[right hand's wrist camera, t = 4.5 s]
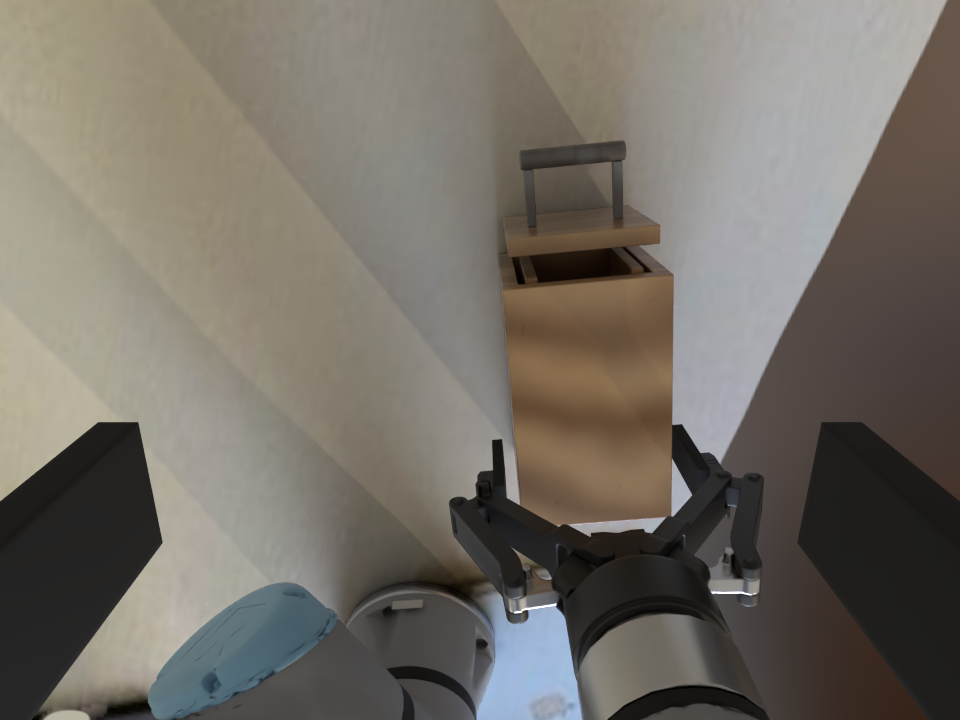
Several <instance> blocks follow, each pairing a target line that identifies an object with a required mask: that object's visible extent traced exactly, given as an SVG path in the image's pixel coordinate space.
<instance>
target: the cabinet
mask: <svg viewBox="0 0 960 720" xmlns="http://www.w3.org/2000/svg"><path fill="white" fill-rule="evenodd" d="M621 248H622V249H623V250H624V251H625V252H627V253H628V254H629V255H630V256H631V257H632V258H633V259H634V260H635V261H636V262H637V263H638V264H639V265H640V266H641V267H642V268H643V269H644V273H641V274H630V275H619V276H608V277H597V278H586V279H575V280H565V281H554V282H543V283H532V284H521V285H520V273H519V260H518V257H509V255H508V253H504V254H498V263H499V275H500V287H501V299H502V310H503V322H504V334H505V345H506V357H507V369H508V381H509V392H510V404H511V416H512V427H513V439H514V451H515V461H516V471H517V480H518V490H519V500H520V506H522V507H524V508H525V509H527V510H529V511H531V512H533V513H534V514H536V515H538V516H540V517H542V518H543V519H545V520H547V521H549V522H551V523H552V524H554V525H556V526H561V525H562V524H567V525H577V524H590V523H602V522H615V521H628V520H640V519H653V518H665V517H667V516H671V486H672V382H673V278H674V275H673V274H672V273H671V272H670V271H669V270H667V269H666V268H665V267H664V266H663V265H661V264H660V263H659V262H658V261H656V260H655V259H654V258H653V257H652V256H650V255H649V254H648V253H647V252H646V251H644V250H643V249H642V248H641V247H640V246H628V247H621Z"/></svg>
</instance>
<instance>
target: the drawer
mask: <svg viewBox="0 0 960 720" xmlns="http://www.w3.org/2000/svg"><path fill="white" fill-rule="evenodd" d="M519 156H520V168H521V170H524V182H525V197H526V212H527V215H521V216H510V217H503V229H504V236H505V241H506V246H507V251H508V255H509V257H518V260H519V273H520V285H521V284H532V283H543V282H554V281H565V280H575V279H586V278H597V277H608V276H619V275H630V274H641V273H644V269H643V268H642V267H641V266H640V265H639V264H638V263H637V262H636V261H635V260H634V259H633V258H632V257H631V256H630V255H629V254H628V253H627V252H625V251H624V250H623V249H622V248H621V247H628V246H638V245H649V244H659V243H660V225H659V224H657V223H656V222H654V221H653V220H651V219H649V218H648V217H646V216H644V215H643V214H641V213H640V212H638V211H636V210H635V209H633V208H631V207H630V206H628V205H625V206H623V175H622V160H625V157H626V145H625V142H624V141H613V142H603V143H592V144H582V145H572V146H562V147H552V148H542V149H532V150H521V151H520V152H519ZM602 162H612V193H613V207H605V208H594V209H584V210H573V211H563V212H552V213H542V214H536V207H535V192H534V176H533V170H532V169H541V168H551V167H561V166H571V165H581V164H592V163H602Z"/></svg>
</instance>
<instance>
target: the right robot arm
mask: <svg viewBox="0 0 960 720" xmlns="http://www.w3.org/2000/svg"><path fill="white" fill-rule="evenodd" d="M162 543H163V542H162V537H161V532H160V527H159V522H158V518H157V513H156V508H155V503H154V498H153V493H152V488H151V483H150V478H149V473H148V468H147V463H146V458H145V453H144V448H143V443H142V439H141V434H140V429H139V424H138V422H98V423H97V424H96V425H94V426H93V427H92V428H91V429H89V430H88V431H87V432H86V433H84V434H83V435H82V436H81V437H80V438H78V439H77V440H76V441H75V442H73V443H72V444H71V445H70V446H68V447H67V448H66V449H65V450H63V451H62V452H61V453H60V454H58V455H57V456H56V457H55V458H53V459H52V460H51V461H50V462H49V463H47V464H46V465H45V466H44V467H42V468H41V469H40V470H39V471H37V472H36V473H35V474H34V475H32V476H31V477H30V478H29V479H27V480H26V481H25V482H24V483H22V484H21V485H20V486H19V487H18V488H16V489H15V490H14V491H13V492H11V493H10V494H9V495H8V496H6V497H5V498H4V499H3V500H1V501H0V720H32V718H33V717H34V716H35V714H36V713H37V712H38V710H39V709H40V708H41V706H42V705H43V703H44V702H45V701H46V699H47V698H48V697H49V695H50V694H51V693H52V691H53V690H54V689H55V687H56V686H57V685H58V683H59V682H60V681H61V679H62V678H63V676H64V675H65V674H66V672H67V671H68V670H69V668H70V667H71V666H72V664H73V663H74V662H75V660H76V659H77V658H78V656H79V655H80V654H81V652H82V651H83V649H84V648H85V647H86V645H87V644H88V643H89V641H90V640H91V639H92V637H93V636H94V635H95V633H96V632H97V631H98V629H99V628H100V627H101V625H102V624H103V622H104V621H105V620H106V618H107V617H108V616H109V614H110V613H111V612H112V610H113V609H114V608H115V606H116V605H117V604H118V602H119V601H120V600H121V598H122V597H123V596H124V594H125V593H126V591H127V590H128V589H129V587H130V586H131V585H132V583H133V582H134V581H135V579H136V578H137V577H138V575H139V574H140V573H141V571H142V570H143V569H144V567H145V566H146V564H147V563H148V562H149V560H150V559H151V558H152V556H153V555H154V554H155V552H156V551H157V550H158V548H159V547H160V546H161V544H162ZM797 543H798V544H799V546H800V547H801V548H802V550H803V551H804V552H805V554H806V555H807V556H808V558H809V559H810V560H811V562H812V563H813V564H814V566H815V567H816V569H817V570H818V571H819V573H820V574H821V575H822V577H823V578H824V579H825V581H826V582H827V583H828V585H829V586H830V587H831V589H832V590H833V591H834V593H835V594H836V596H837V597H838V598H839V599H840V601H841V602H842V604H843V605H844V606H845V608H846V609H847V610H848V612H849V613H850V614H851V616H852V617H853V618H854V620H855V621H856V622H857V624H858V625H859V627H860V628H861V629H862V631H863V632H864V633H865V635H866V636H867V637H868V639H869V640H870V641H871V643H872V644H873V645H874V647H875V648H876V649H877V651H878V652H879V654H880V655H881V656H882V658H883V659H884V660H885V662H886V663H887V664H888V666H889V667H890V668H891V670H892V671H893V672H894V674H895V675H896V676H897V678H898V679H899V680H900V682H901V683H902V685H903V686H904V687H905V689H906V690H907V691H908V693H909V694H910V695H911V697H912V698H913V699H914V701H915V702H916V703H917V705H918V706H919V707H920V709H921V710H922V712H923V713H924V714H925V716H926V717H927V718H928V720H960V501H959V500H957V499H956V498H955V497H954V496H952V495H951V494H950V493H949V492H947V491H946V490H945V489H944V488H942V487H941V486H940V485H939V484H938V483H936V482H935V481H934V480H932V479H931V478H930V477H929V476H928V475H926V474H925V473H924V472H923V471H921V470H920V469H919V468H918V467H916V466H915V465H914V464H913V463H911V462H910V461H909V460H908V459H907V458H905V457H904V456H903V455H902V454H900V453H899V452H898V451H897V450H895V449H894V448H893V447H892V446H890V445H889V444H888V443H887V442H885V441H884V440H883V439H882V438H880V437H879V436H878V435H877V434H876V433H874V432H873V431H872V430H871V429H869V428H868V427H867V426H866V425H864V424H863V423H862V422H822V424H821V429H820V434H819V439H818V443H817V449H816V453H815V458H814V463H813V468H812V473H811V478H810V483H809V488H808V493H807V498H806V503H805V508H804V513H803V518H802V522H801V528H800V532H799V537H798V542H797Z"/></svg>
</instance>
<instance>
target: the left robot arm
mask: <svg viewBox="0 0 960 720" xmlns="http://www.w3.org/2000/svg"><path fill="white" fill-rule="evenodd" d="M492 450H493V471H482V472H480V473H479V474H478V481H477V483H476V484H475V485H476V494H477V496H476V497H475V498H473V499H471V500H467V499H466V498H464V497H455V498H453V499H451V500H450V501H449V506H450V514H451V522H452V530H453V535H454V537H455V538H456V539H457V540H458V542H459V543H460V544H461V545H462V547H463V548H464V549H465V551H466V552H467V553H468V554H469V556H470V557H471V558H472V559H473V561H474V562H475V563H476V564H477V566H478V567H479V568H480V569H481V571H482V572H483V573H484V574H485V576H486V577H487V578H488V579H489V581H490V582H491V583H492V584H493V586H494V587H495V588H496V589H497V591H498V592H499V593H500V594H501V596H502V597H503V601H504V606H505V611H506V616H507V619H508V621H509V622H511V623H513V624H521V623H524V622H525V621H527V619H528V615H529V614H528V609H534V608H541V607H547V606H554V605H555V606H556V608H557V609H558V610H559V611H560V612H561V613H562V614H563V615H564V617H565V619H566V625H567V631H568V637H569V643H570V649H571V655H572V661H573V667H574V673H575V677H576V680H577V686H578V698H579V704H580V710H581V715H582V720H771V717H770V715H769V713H768V711H767V709H766V707H765V704H764V702H763V700H762V698H761V696H760V693H759V691H758V689H757V687H756V685H755V683H754V680H753V678H752V676H751V674H750V672H749V670H748V667H747V665H746V663H745V661H744V659H743V656H742V654H741V652H740V650H739V648H738V646H737V645H736V644H735V643H734V641H733V638H732V635H731V632H730V630H729V628H728V626H727V624H726V622H725V620H724V618H723V616H722V613H721V611H720V609H719V607H718V605H717V603H716V601H715V599H714V597H713V595H712V593H734V595H735V597H736V600H737V601H738V602H739V603H740V604H742V605H745V606H750V607H751V606H756V605H757V604H758V603H759V601H760V588H761V574H762V562H761V559H760V557H759V555H758V552H757V550H756V543H757V537H758V531H759V525H760V519H761V513H762V500H763V485H764V478H763V476H762V475H760V474H757V473H747V474H745V475H744V477H743V479H741V478H734V477H732V475H731V473H729V472H727V471H724V470H723V468H722V467H721V465H720V464H719V462H718V461H717V459H716V458H715V456H714V455H712V454H711V453H700V452H699V450H698V449H697V447H696V446H695V444H694V443H693V441H692V439H691V438H690V436H689V435H688V433H687V432H686V430H685V429H684V427H683V425H682V424H680V425H672V459H673V461H674V462H675V464H676V466H677V468H678V470H679V471H680V473H681V475H682V477H683V479H684V480H685V482H686V484H687V486H688V488H689V490H690V491H691V493H692V496H691V498H690V499H689V500H688V501H687V502H686V503H685V504H684V505H683V507H682V508H681V509H680V510H679V511H678V512H677V513H676V515H675V516H674V517H672V516H667V517H666V519H665V520H664V521H663V522H662V523H661V524H660V525H659V526H658V527H657V529H656V530H655V531H654V532H653V533H647V532H645V531H644V529H636V530H629V531H625V532H621V533H610V532H598V533H591V537H589V536H587V535H585V534H583V533H582V532H580V531H578V530H576V529H574V528H572V527H571V526H569V525H567V524H562V525H561V526H559V527H558V526H556V525H554V524H552V523H551V522H549V521H547V520H545V519H543V518H542V517H540V516H538V515H536V514H534V513H533V512H531V511H529V510H527V509H525V508H524V507H522V506H520V505H518V504H516V503H515V502H513V501H511V500H509V499H507V495H506V479H505V466H504V455H503V444H502V439H499V440H492ZM730 506H736V507H737V508H736V513H735V517H734V522H733V526H732V531H731V537H730V548H729V547H728V548H725V549H724V551H723V555H722V556H720V557H718V559H717V564H716V565H715V566H713V567H707V565H706V564H705V563H704V562H703V561H702V560H700V559H699V558H697V557H695V556H694V554H695V553H696V552H697V550H698V549H699V548H700V547H701V545H702V544H703V543H704V541H705V540H706V539H707V538H708V536H709V535H710V534H711V533H712V531H713V530H714V529H715V527H716V526H717V525H718V524H719V522H720V521H721V520H722V518H723V517H725V516H728V519H729V518H730ZM511 547H512V548H513V549H515V550H517V551H518V552H520V553H521V554H523V555H524V556H526V557H528V558H529V559H531V560H532V561H534V562H536V563H537V564H539V565H540V566H542V567H543V568H545V569H547V570H548V572H549V573H550V575H551V577H552V579H551V580H544V579H541V578H540V577H538V575H537V574H536V573H535V572H533V571H532V568H531V565H530V564H527V563H525V564H521V561H520V559H519V557H518V555H517V554H516V553H515V551H514V550H513V549H512V548H511ZM494 663H495V638H494V632H493V629H492V626H491V624H490V622H489V620H488V618H487V616H486V615H485V613H484V612H483V611H482V610H481V609H480V607H479V606H478V605H476V604H475V603H474V602H473V601H472V600H470V599H469V598H468V597H466V596H465V595H463V594H461V593H459V592H457V591H455V590H453V589H450V588H448V587H444V586H441V585H436V584H431V583H420V582H414V583H402V584H397V585H393V586H389V587H386V588H384V589H381V590H379V591H377V592H375V593H373V594H372V595H370V596H368V597H367V598H366V599H364V600H363V601H362V602H361V603H360V604H359V605H358V606H357V607H356V608H355V609H354V611H353V612H352V613H351V615H350V617H349V619H348V621H347V623H346V626H345V625H344V624H343V623H342V622H341V621H340V620H339V619H338V616H337V614H336V613H335V612H334V611H333V610H331V609H329V608H326V607H325V606H324V605H323V604H322V603H320V602H319V601H318V600H317V599H316V598H315V597H314V596H313V595H312V594H311V593H310V592H309V591H307V590H306V589H305V588H304V587H302V586H300V585H298V584H295V583H288V582H284V583H276V584H272V585H268V586H265V587H263V588H260V589H258V590H256V591H254V592H252V593H250V594H248V595H246V596H244V597H243V598H241V599H239V600H238V601H236V602H235V603H233V604H232V605H230V606H229V607H227V608H226V609H224V610H223V611H222V612H220V613H219V614H217V615H216V616H215V617H214V618H212V619H211V620H210V621H209V622H207V623H206V624H205V625H204V626H203V627H201V628H200V629H199V630H198V631H197V632H196V633H195V634H194V635H193V636H191V637H190V638H189V639H188V640H187V641H186V642H185V643H184V644H183V645H182V646H181V647H180V648H179V649H178V650H177V652H176V653H175V654H174V655H173V656H172V657H171V658H170V659H169V661H168V662H167V663H166V664H165V665H164V667H163V668H162V669H161V671H160V672H159V674H158V676H157V681H156V682H155V683H154V684H153V685H152V686H151V689H150V692H149V695H148V703H149V705H150V707H151V708H152V714H153V715H154V717H155V718H157V719H158V720H476V714H477V711H478V709H479V706H480V704H481V701H482V698H483V696H484V693H485V691H486V688H487V686H488V683H489V680H490V678H491V675H492V672H493V667H494Z"/></svg>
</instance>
